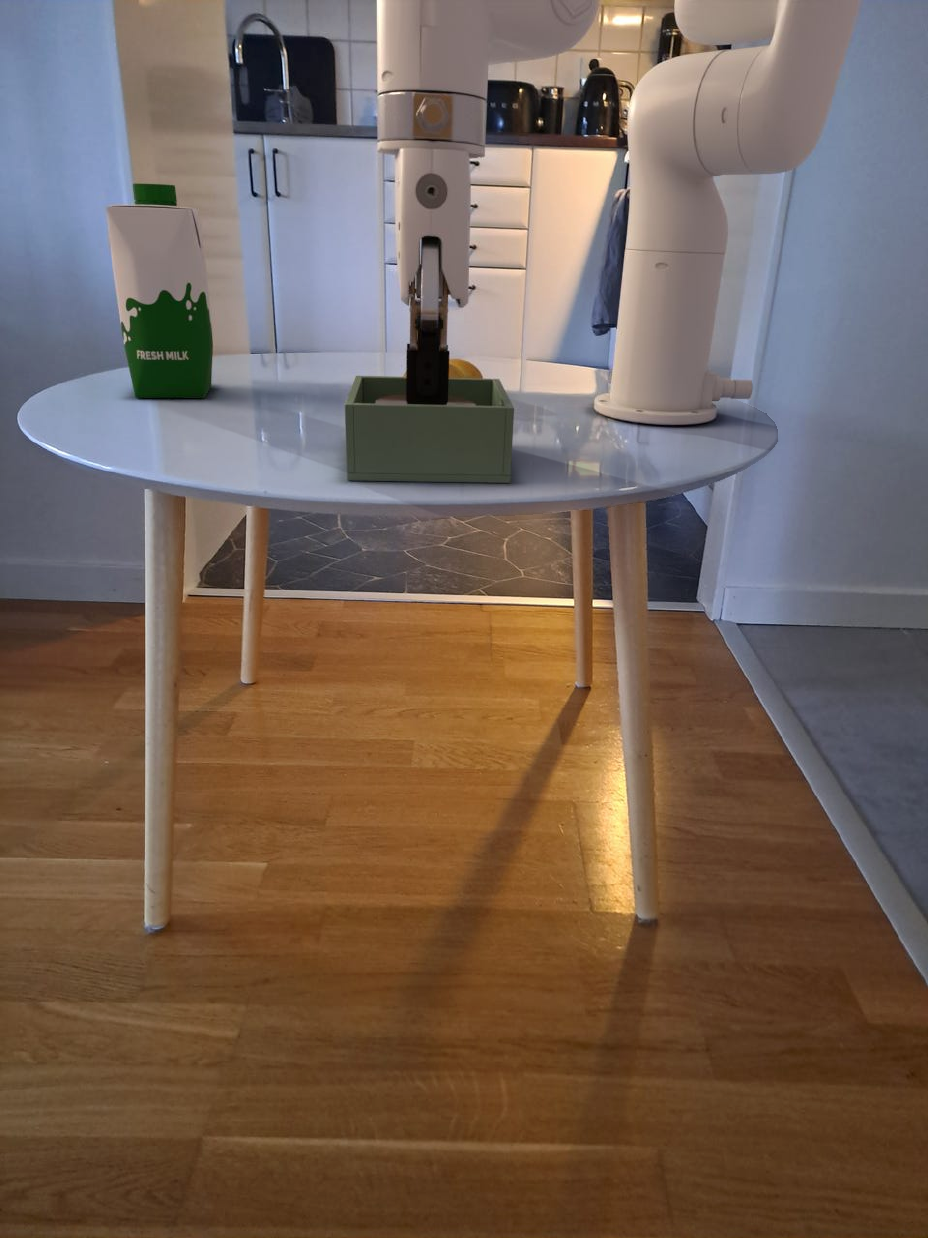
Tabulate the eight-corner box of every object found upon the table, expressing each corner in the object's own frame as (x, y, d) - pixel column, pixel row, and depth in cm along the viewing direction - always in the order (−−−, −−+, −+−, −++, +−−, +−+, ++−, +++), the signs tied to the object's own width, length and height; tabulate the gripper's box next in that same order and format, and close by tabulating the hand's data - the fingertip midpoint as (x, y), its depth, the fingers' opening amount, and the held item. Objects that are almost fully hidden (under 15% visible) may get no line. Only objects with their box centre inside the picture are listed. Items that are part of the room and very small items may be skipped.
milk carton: (220, 384, 95) (202, 186, 86) (212, 400, 87) (191, 183, 78) (139, 384, 93) (112, 183, 85) (123, 400, 85) (92, 179, 77)
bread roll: (496, 395, 94) (498, 358, 93) (440, 404, 88) (441, 365, 87) (444, 384, 99) (445, 349, 98) (388, 392, 94) (388, 355, 92)
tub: (496, 443, 74) (499, 378, 71) (510, 483, 63) (514, 407, 60) (357, 441, 73) (355, 375, 71) (346, 480, 62) (344, 404, 60)
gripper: (495, 120, 51) (481, 423, 59) (477, 143, 65) (468, 384, 73) (371, 113, 50) (374, 420, 58) (381, 138, 65) (382, 381, 73)
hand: (426, 398), depth 66 cm, fingers closed on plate, 2 cm apart
